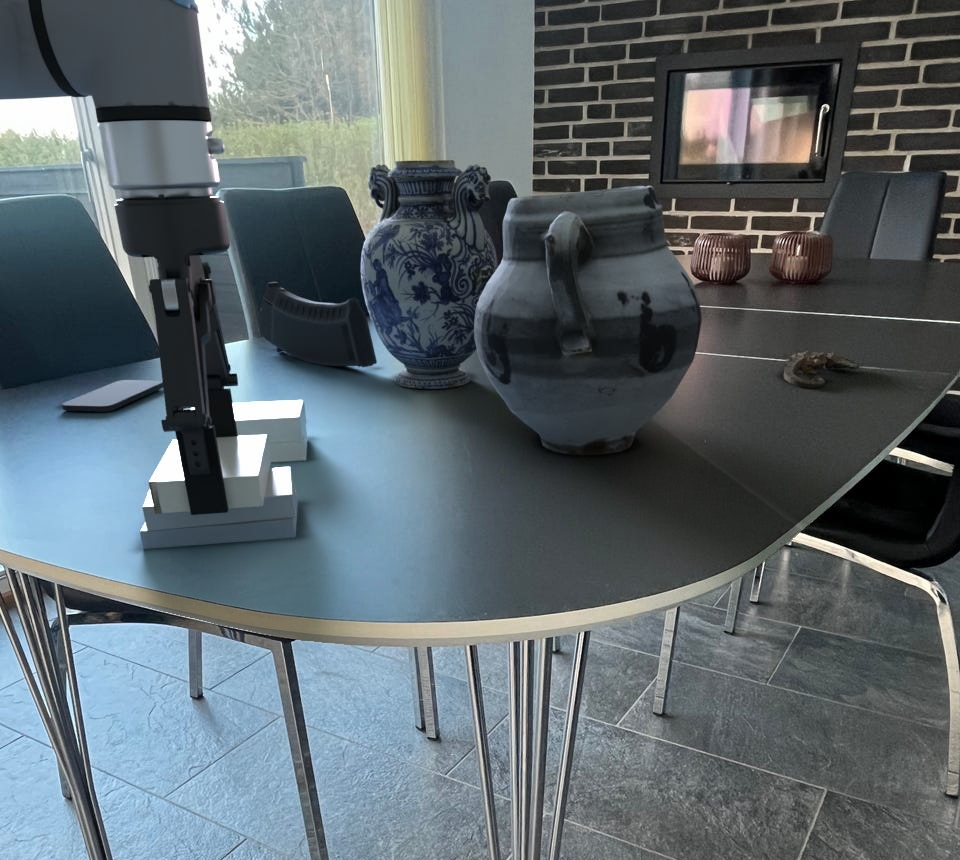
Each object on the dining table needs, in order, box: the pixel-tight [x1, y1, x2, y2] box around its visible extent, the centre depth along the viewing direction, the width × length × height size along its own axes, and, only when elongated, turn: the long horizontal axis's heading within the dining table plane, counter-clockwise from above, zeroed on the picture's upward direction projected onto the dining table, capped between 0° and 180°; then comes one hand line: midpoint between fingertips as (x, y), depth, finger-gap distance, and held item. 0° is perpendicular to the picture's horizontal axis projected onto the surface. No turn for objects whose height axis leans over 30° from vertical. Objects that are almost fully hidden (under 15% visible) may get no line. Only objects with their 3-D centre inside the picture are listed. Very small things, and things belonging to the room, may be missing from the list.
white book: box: [148, 435, 272, 514], centre depth 71 cm, size 8×12×2 cm
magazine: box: [259, 281, 378, 368], centre depth 138 cm, size 17×3×30 cm
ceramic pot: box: [474, 185, 703, 456], centre depth 88 cm, size 29×23×25 cm
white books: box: [190, 399, 308, 463], centre depth 92 cm, size 12×8×5 cm
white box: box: [139, 466, 299, 550], centre depth 73 cm, size 12×8×4 cm
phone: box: [61, 379, 163, 413], centre depth 119 cm, size 7×1×15 cm
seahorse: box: [783, 348, 860, 389], centre depth 122 cm, size 9×16×3 cm, turn 132°
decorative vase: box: [360, 159, 499, 390], centre depth 118 cm, size 21×19×28 cm
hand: (218, 486), depth 72 cm, fingers closed on white book, 12 cm apart
